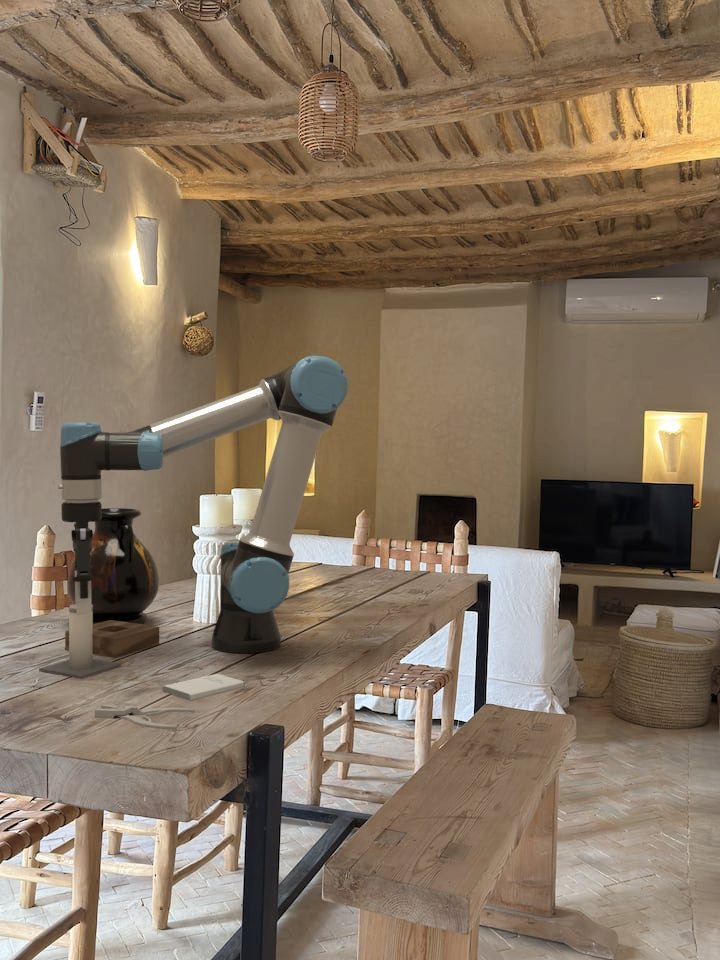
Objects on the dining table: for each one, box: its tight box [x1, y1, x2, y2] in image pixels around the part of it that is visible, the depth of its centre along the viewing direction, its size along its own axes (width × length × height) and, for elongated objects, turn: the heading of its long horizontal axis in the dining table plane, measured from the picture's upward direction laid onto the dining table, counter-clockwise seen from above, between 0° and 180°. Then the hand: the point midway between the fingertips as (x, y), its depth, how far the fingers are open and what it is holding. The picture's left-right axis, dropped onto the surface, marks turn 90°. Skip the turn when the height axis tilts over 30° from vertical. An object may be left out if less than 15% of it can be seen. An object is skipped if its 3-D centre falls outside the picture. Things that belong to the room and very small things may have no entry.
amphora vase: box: [66, 507, 160, 625], centre depth 220 cm, size 22×22×28 cm
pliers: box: [94, 704, 196, 730], centre depth 149 cm, size 10×2×15 cm
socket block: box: [64, 620, 160, 658], centre depth 197 cm, size 14×14×4 cm
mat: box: [38, 658, 123, 679], centre depth 179 cm, size 11×11×1 cm
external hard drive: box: [161, 673, 245, 701], centre depth 166 cm, size 2×8×12 cm
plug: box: [68, 603, 93, 669], centre depth 179 cm, size 4×4×12 cm
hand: (83, 608), depth 178 cm, fingers open, 13 cm apart
